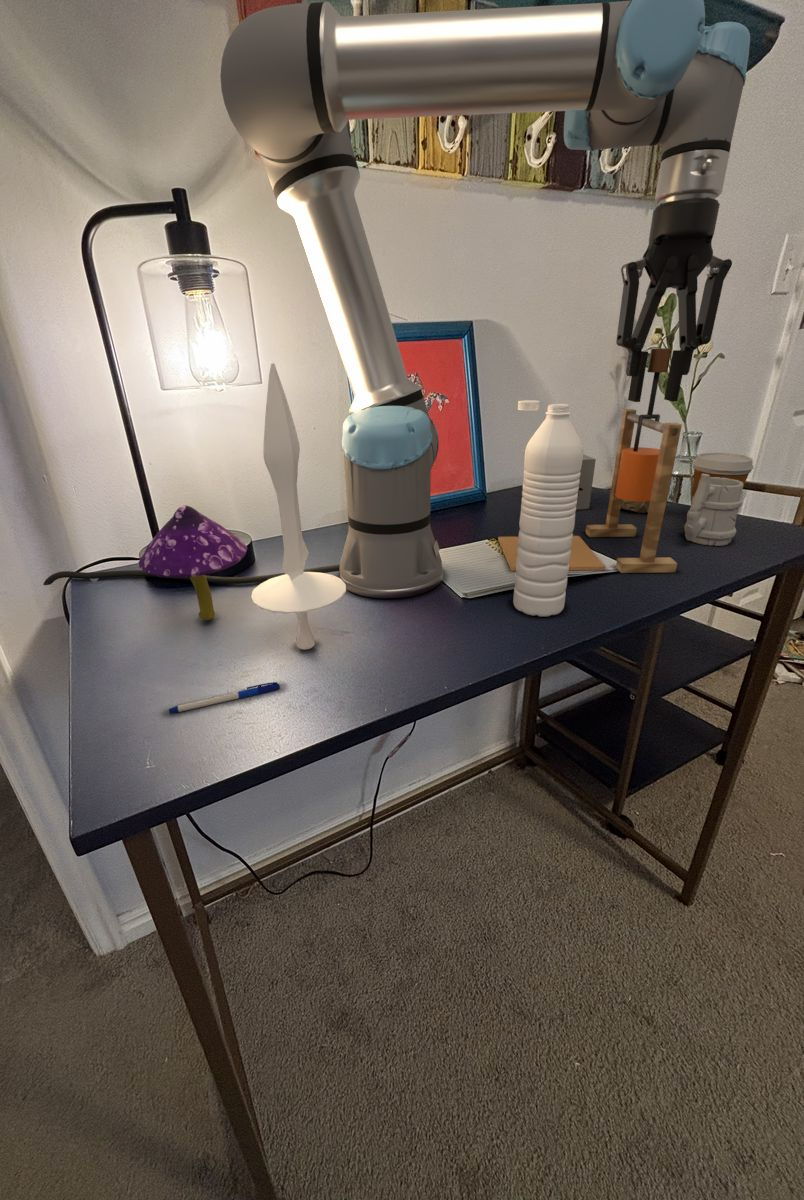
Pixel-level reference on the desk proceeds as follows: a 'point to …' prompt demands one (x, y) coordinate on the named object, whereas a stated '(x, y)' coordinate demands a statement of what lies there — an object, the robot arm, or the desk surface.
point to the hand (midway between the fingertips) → (652, 400)
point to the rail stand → (657, 501)
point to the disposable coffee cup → (721, 467)
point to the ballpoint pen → (227, 697)
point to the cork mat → (578, 560)
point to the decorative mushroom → (192, 552)
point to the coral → (635, 506)
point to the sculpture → (290, 524)
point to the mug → (714, 511)
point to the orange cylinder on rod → (639, 460)
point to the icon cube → (585, 482)
